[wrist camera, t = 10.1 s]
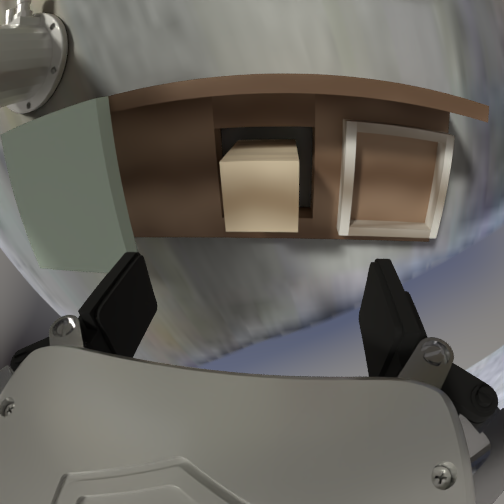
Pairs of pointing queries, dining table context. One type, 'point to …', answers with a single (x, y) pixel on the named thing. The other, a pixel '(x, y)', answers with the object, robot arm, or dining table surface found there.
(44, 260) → the sliding cover
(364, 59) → the dining table surface
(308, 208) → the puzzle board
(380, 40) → the dining table surface
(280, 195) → the beech block
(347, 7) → the dining table surface
